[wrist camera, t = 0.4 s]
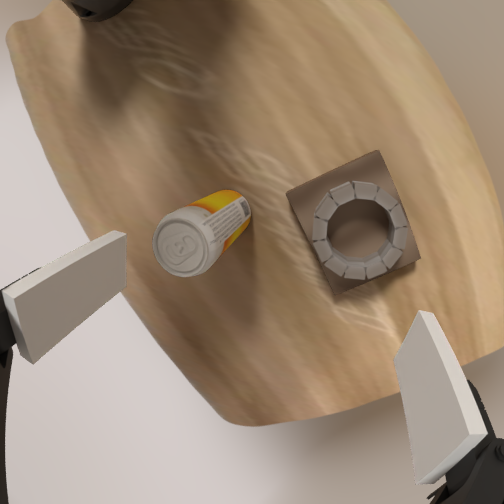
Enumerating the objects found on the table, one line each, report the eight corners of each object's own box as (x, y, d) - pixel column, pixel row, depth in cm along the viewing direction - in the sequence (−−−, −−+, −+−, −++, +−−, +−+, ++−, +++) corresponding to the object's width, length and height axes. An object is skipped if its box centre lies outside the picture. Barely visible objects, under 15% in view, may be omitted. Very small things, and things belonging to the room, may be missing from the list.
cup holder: (287, 191, 36) (282, 198, 31) (375, 150, 32) (384, 150, 27) (334, 286, 39) (335, 307, 34) (415, 251, 35) (428, 267, 30)
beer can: (199, 202, 39) (137, 233, 26) (237, 180, 37) (188, 200, 24) (221, 241, 41) (171, 290, 27) (260, 222, 39) (225, 265, 25)
